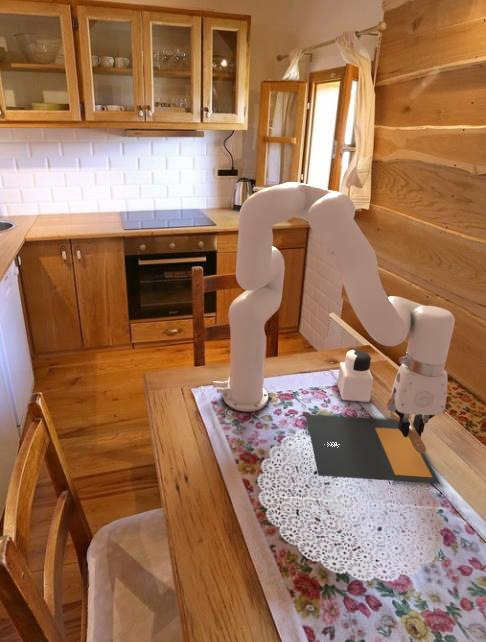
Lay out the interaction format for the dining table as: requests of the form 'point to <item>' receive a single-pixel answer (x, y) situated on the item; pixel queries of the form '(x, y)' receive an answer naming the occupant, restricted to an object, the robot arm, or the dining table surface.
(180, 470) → the dining table surface
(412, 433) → the wooden rod with disc
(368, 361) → the container
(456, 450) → the dining table surface
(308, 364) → the dining table surface
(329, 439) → the mat
